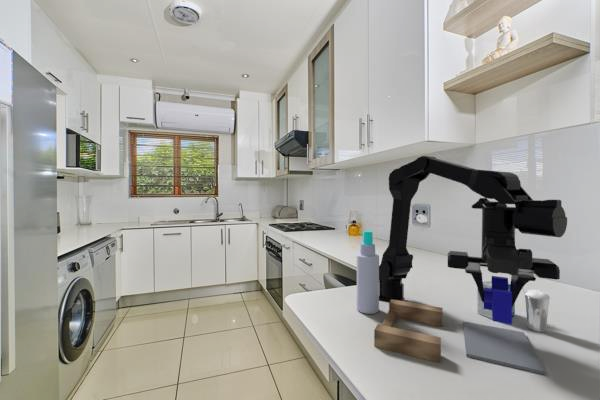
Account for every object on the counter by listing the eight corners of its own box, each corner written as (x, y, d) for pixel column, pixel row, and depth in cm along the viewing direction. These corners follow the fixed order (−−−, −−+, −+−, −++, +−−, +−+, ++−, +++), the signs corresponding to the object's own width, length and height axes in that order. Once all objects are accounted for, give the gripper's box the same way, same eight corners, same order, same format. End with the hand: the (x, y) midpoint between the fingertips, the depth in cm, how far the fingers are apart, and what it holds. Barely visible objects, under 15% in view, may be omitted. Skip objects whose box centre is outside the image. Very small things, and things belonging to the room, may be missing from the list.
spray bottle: (381, 308, 78) (381, 230, 78) (375, 316, 73) (375, 233, 73) (360, 304, 81) (360, 229, 81) (353, 311, 76) (353, 231, 76)
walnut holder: (374, 346, 59) (374, 329, 59) (391, 311, 76) (391, 299, 76) (440, 362, 53) (440, 344, 53) (442, 321, 70) (442, 307, 70)
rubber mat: (466, 356, 55) (466, 353, 55) (462, 323, 69) (462, 321, 69) (545, 374, 49) (545, 371, 49) (523, 334, 63) (523, 332, 63)
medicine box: (492, 320, 71) (492, 286, 71) (476, 313, 75) (476, 281, 75) (515, 316, 73) (515, 283, 73) (499, 309, 77) (499, 279, 77)
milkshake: (520, 321, 70) (520, 282, 70) (548, 328, 66) (549, 286, 66) (519, 328, 66) (520, 287, 66) (550, 335, 63) (550, 291, 63)
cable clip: (483, 299, 66) (483, 274, 65) (507, 303, 63) (507, 277, 63) (483, 318, 56) (483, 289, 55) (511, 324, 53) (511, 293, 53)
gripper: (448, 232, 56) (447, 309, 56) (572, 239, 47) (570, 330, 48) (448, 226, 66) (447, 291, 66) (550, 231, 57) (549, 307, 57)
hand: (496, 303), depth 59 cm, fingers closed on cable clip, 5 cm apart
